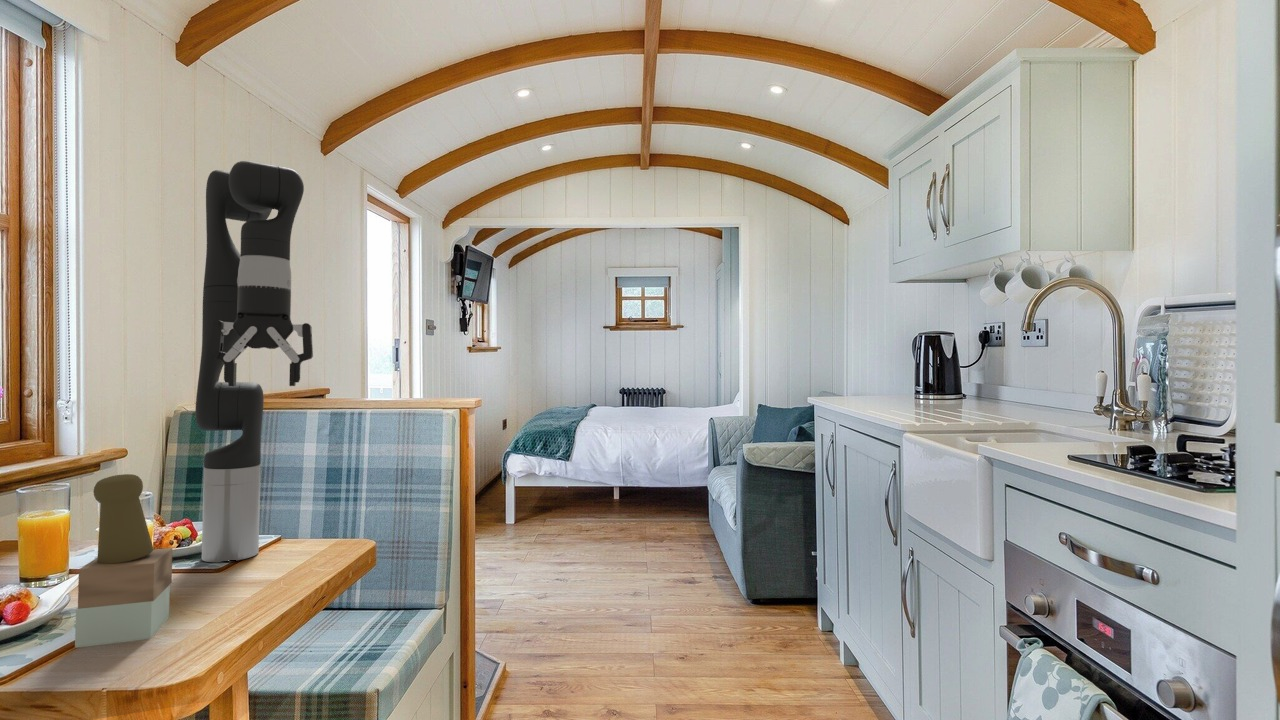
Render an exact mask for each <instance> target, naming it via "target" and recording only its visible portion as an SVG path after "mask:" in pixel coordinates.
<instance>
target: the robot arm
mask: <svg viewBox="0 0 1280 720" xmlns="http://www.w3.org/2000/svg"><path fill="white" fill-rule="evenodd" d="M304 185H305V184H304V181H303V179H302V177H301V175H300V173H298V172H297V171H296V170H294V169H292V168H289V167H283V166H279V165H272V164H266V163H262V162H258V161H257V162H256V161H249V160H241V161H237V162H236V163H234V164H233V166H232V167H231V169H230V171H227V170H220V169H219V170H218V169H216V170H212V171H211V172H210V173H209V175H208V177H207V181H206V187H205V188H206V189H205V215H206V216H205V217H206V219H205V220H206V221H205V222H206V226H205V227H206V255H205V264H204V265H205V269H204V277H203V287H202V288H203V290H202V327H201V328H202V330H201V331H202V335H201V338H202V339H201V351H200V352H201V356H200V363H199V372H198V380H197V390H196V400H195V410H194V411H195V421H196V425H197V427H198V428H199V430H201V431H208V432H209V431H210V432H211V431H213V432H214V431H215V432H216V431H219V432H220V431H241V432H242V434H241V436H239V438H237V439H236V440H234V441H233V442H231V443H229V444H226V445H224V446H220V447H218V448H217V447H216V448H213V449H212V450H209V451H207V452H206V453H205V454H204V456H203V480H202V481H203V489H202V492H203V493H202V526H201V533H202V536H201V561H204V562H207V563H222V562H221V561H228V560H236V561H241V560H246V559H248V558H249V559H250V558H252V557H254V556H256V555H258V554H259V550H260V549H259V548H260V547H259V545H260V544H259V543H260V507H261V506H260V502H261V501H260V500H261V464H262V463H261V460H262V459H261V458H262V456H261V447H262V444H261V443H262V440H261V439H262V425H263V415H264V401H265V399H264V391H263V388H262V386H261V384H260V383H258V382H254V381H253V382H252V381H250V382H249V381H248V382H246V381H245V382H244V381H243V382H242V381H241V382H240V381H238V382H237V362H236V359H238V358H239V356H241V354H242V353H244V351H245V350H246V349H247V348H248V347H249V348H251V349H258V350H259V349H262V348H265V349H269V350H275V349H278V348H280V350H281V351H282V352H284V354H285V355H286V356H287V357H288V359H289V360H290V361H291V363H289V382H288V383H289V384H288V385H289V387H295V386H296V384H297V383H300V380H301V366H302V365H301V364H302V363H303V362H305V361H309V360H312V358H313V357H314V351H313V331H312V330H313V329H312V325H310V324H309V323H307V322H304V323H302V324H301V323H300V324H293V323H292V320H291V309H292V307H291V306H292V303H291V302H292V298H291V297H292V270H291V261H290V260H291V236H292V231H293V225H294V222H295V218H296V215H297V212H298V209H299V207H300V204H301V203H302V199H303V195H304V191H305V188H304ZM272 210H277V214H276V216H275V217H273V218H270V219H268V218H269V217H270V215H271V213H272ZM227 220H232V221H240V222H244V223H243V224H242V225H241V229H240V252H239V250H238V248H237V247H236V244H235V243H234V242H233V239H232V237H231V234H230V231H229V227H228V224H227ZM294 331H295V332H296V333H297V335H298V337H299V338H302V351H303V352H301V353H300V354H298V353H297V351H296V350H294V348H293V347H292V345H291V344H290V343H289V342H288V341H287V339H288V338H289V337H290V336H291V334H292V333H293V332H294ZM222 370H223V380H224V381H219V380H220V376H221V372H222Z"/></svg>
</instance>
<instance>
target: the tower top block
mask: <svg viewBox="0 0 1280 720" xmlns="http://www.w3.org/2000/svg"><path fill="white" fill-rule="evenodd" d="M172 574H173V547H168V548H157V549H156V548H155V549H154V548H153V551H152V552H151V553H150V554H148V555H146V556H143V557H140V558H138V559H134V560H131V561H126V562H121V563H114V564H100V563H98V562H97V557H95V558H94V559H92V560H91V561H90V562H88V563H87V564H85V565H83V566H82V567H80V568H79V569H78V587H77V592H78V593H77V608H78V609H80V608H90V607H100V606H110V605H120V604H130V603H139V602H149V601H154V600H155V599H156V598H157V597H158V596H159V595H160V594H161V593H162V592H163V591H164V590H165V589H166V588H167V587H168V586H169V585H170V586H171V585H172V580H173V579H172V577H173V575H172Z"/></svg>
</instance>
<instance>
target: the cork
mask: <svg viewBox="0 0 1280 720" xmlns="http://www.w3.org/2000/svg"><path fill="white" fill-rule="evenodd" d="M143 489H144V483H143V480H142V479H141V478H140V476H138V475H136V474H130V473H129V474H128V473H127V474H125V473H124V474H117V475H112V476H108V477H104V478H101V479H100V480H97V482H96V484H95V485H94V486H93V496H94V498H95V501H97V502H98V503H99V505H100V507H99V524H98V526H99V527H98V539H97V541H98V543H97V557H96V558H97V562H98V563H100V564H114V563H121V562H126V561H131V560H134V559H138V558H140V557H143V556H146V555H148V554H150V553H151V552H152V551H153V549H154V545H153V543H152V539H151V535H150V532H149V528H148V524H147V522H146V520H147V519H146V517H145V514H144V510H143V505H142V503H141V499H140V496H141V495H142V493H143Z"/></svg>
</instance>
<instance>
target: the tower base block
mask: <svg viewBox="0 0 1280 720" xmlns="http://www.w3.org/2000/svg"><path fill="white" fill-rule="evenodd" d="M170 588H171V584H170V585H169V586H168V587H167V588H166V589H165V590H164V591H163V592H162V593H161V594H160V595H159V596H158V597H157V598H156V599H155V600H154V601H149V602H139V603H130V604H120V605H110V606H100V607H90V608H80V609H78V607H77V608H76V609H75V624H74V626H75V634H74V637H75V638H74V648H84V647H85V648H86V647H92V646H93V647H94V646H99V645H100V646H101V645H110V644H118V643H126V642H135V641H142V640H151V639H152V638H153V637H154V636H155V634H156V633H157V632H158V631H159V630H160V629H161V628H162V626H163V625H164V624H165V622H167V621H168V619H169V618H170V594H171V592H170V591H171V589H170Z"/></svg>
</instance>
